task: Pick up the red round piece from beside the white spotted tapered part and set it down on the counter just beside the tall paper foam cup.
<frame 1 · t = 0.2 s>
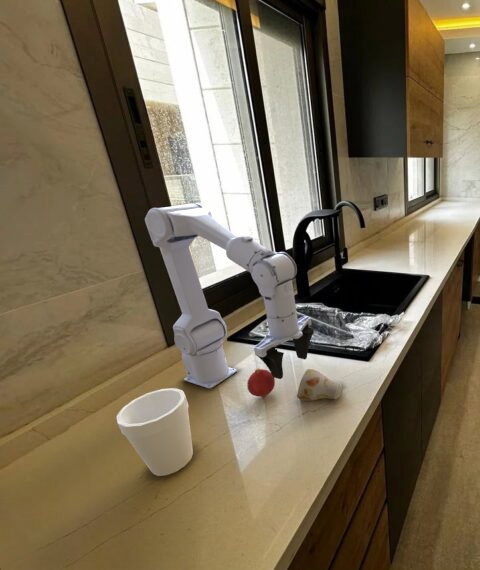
hand: (290, 367, 72), 10 cm above the worktop, tool pointing down, fingers open, 7 cm apart
red round piece: (264, 396, 78), on the worktop
foam cup: (173, 461, 61), on the worktop
white spotted tapered part: (322, 396, 78), on the worktop
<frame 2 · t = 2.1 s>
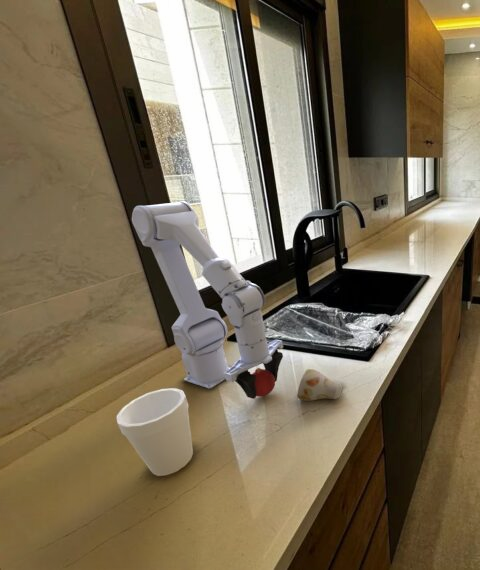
hand: (262, 388, 77), 2 cm above the worktop, tool pointing down, fingers closed on red round piece, 6 cm apart
red round piece: (264, 396, 78), on the worktop, touching gripper
everything else where it was.
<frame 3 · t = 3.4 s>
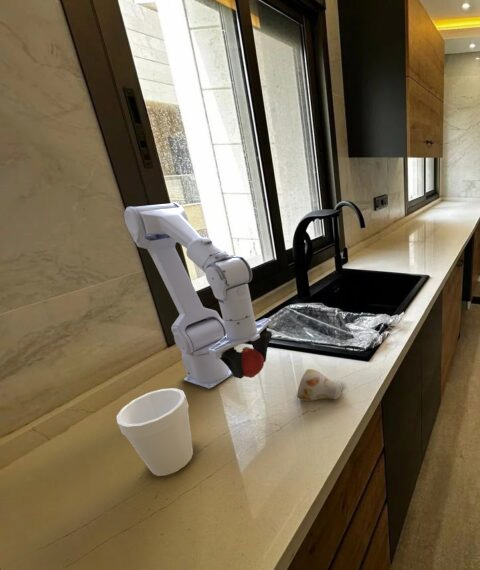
hand: (250, 368, 74), 9 cm above the worktop, tool pointing down, fingers closed on red round piece, 6 cm apart
red round piece: (252, 377, 75), point 6 cm above the worktop, touching gripper
everything else where it was.
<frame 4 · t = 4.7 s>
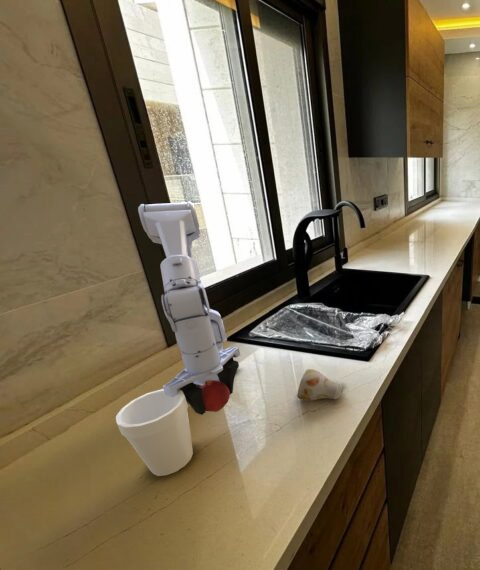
hand: (214, 402, 68), 6 cm above the worktop, tool pointing down, fingers closed on red round piece, 6 cm apart
red round piece: (217, 411, 69), point 3 cm above the worktop, touching gripper
foam cup: (173, 461, 61), on the worktop, touching gripper
everything else where it was.
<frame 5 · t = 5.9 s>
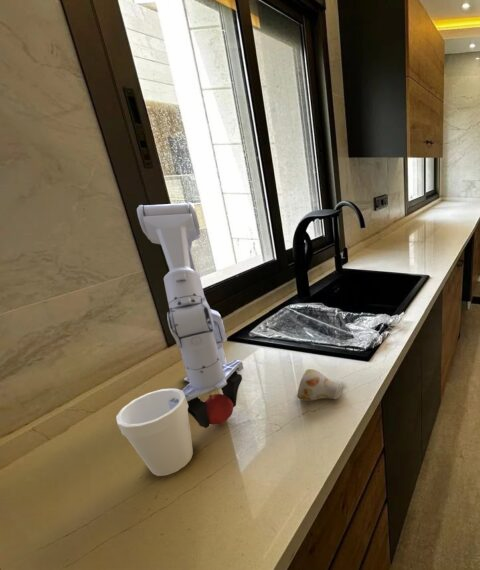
hand: (218, 415, 69), 2 cm above the worktop, tool pointing down, fingers closed on red round piece, 6 cm apart
red round piece: (221, 423, 70), on the worktop, touching gripper
everything else where it was.
when the fingers open (2 cm above the worktop, at t = 6.3 s): red round piece stays where it is, on the worktop.
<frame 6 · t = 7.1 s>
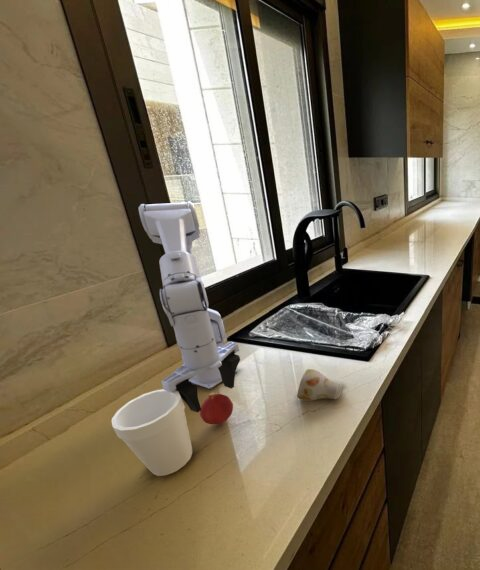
hand: (213, 397, 68), 7 cm above the worktop, tool pointing down, fingers open, 7 cm apart
red round piece: (221, 423, 70), on the worktop
foam cup: (172, 460, 61), on the worktop
everything else where it was.
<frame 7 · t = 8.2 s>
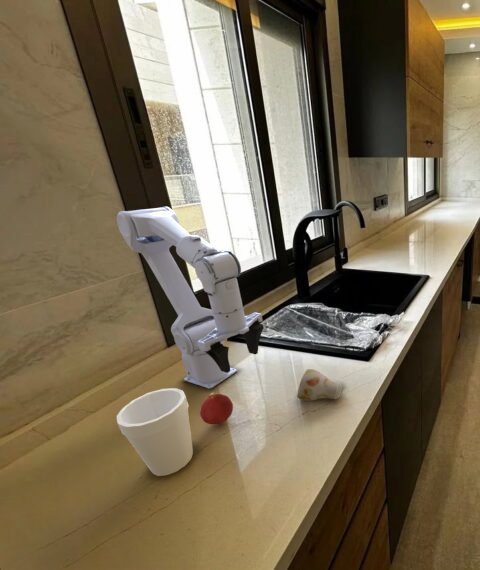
hand: (240, 361, 75), 9 cm above the worktop, tool pointing down, fingers open, 7 cm apart
nothing on the worktop moved.
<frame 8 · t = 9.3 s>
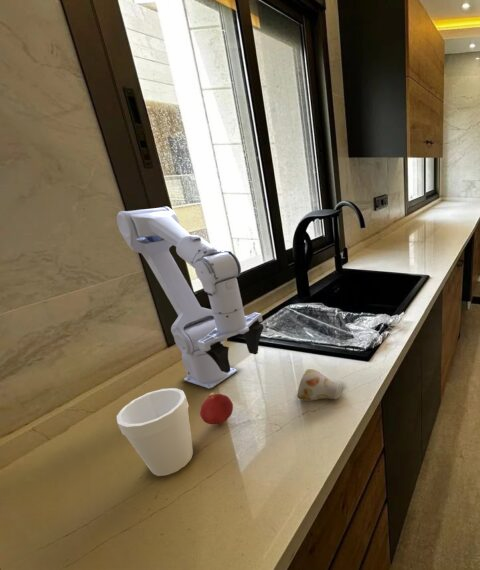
hand: (240, 361, 75), 9 cm above the worktop, tool pointing down, fingers open, 7 cm apart
nothing on the worktop moved.
at the end: red round piece inside the target area (0.1 cm from its centre), on the worktop; red round piece 10.1 cm from the foam cup (horizontally); foam cup moved 0.2 cm from its start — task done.
